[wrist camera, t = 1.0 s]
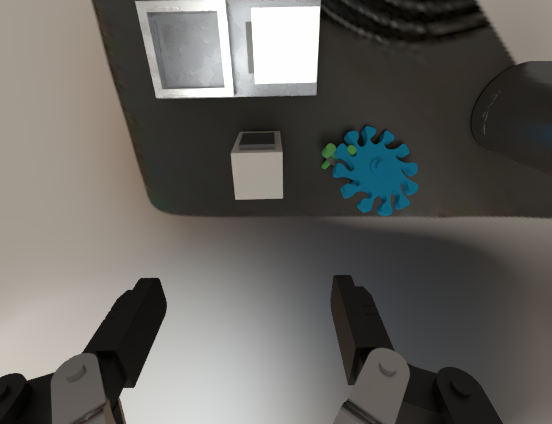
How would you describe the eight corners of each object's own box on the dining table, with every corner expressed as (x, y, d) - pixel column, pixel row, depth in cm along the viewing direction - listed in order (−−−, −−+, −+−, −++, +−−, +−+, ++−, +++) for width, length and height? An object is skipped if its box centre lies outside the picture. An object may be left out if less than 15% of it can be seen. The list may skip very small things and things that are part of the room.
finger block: (279, 126, 30) (282, 146, 23) (280, 168, 33) (282, 198, 26) (239, 127, 30) (230, 147, 23) (243, 169, 33) (235, 199, 26)
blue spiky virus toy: (431, 150, 30) (411, 229, 27) (397, 171, 36) (376, 238, 33) (346, 102, 29) (314, 179, 26) (324, 131, 35) (295, 197, 31)
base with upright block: (319, -1, 25) (341, -29, 17) (314, 94, 29) (331, 107, 21) (143, 3, 25) (84, -24, 17) (163, 97, 29) (122, 112, 21)
